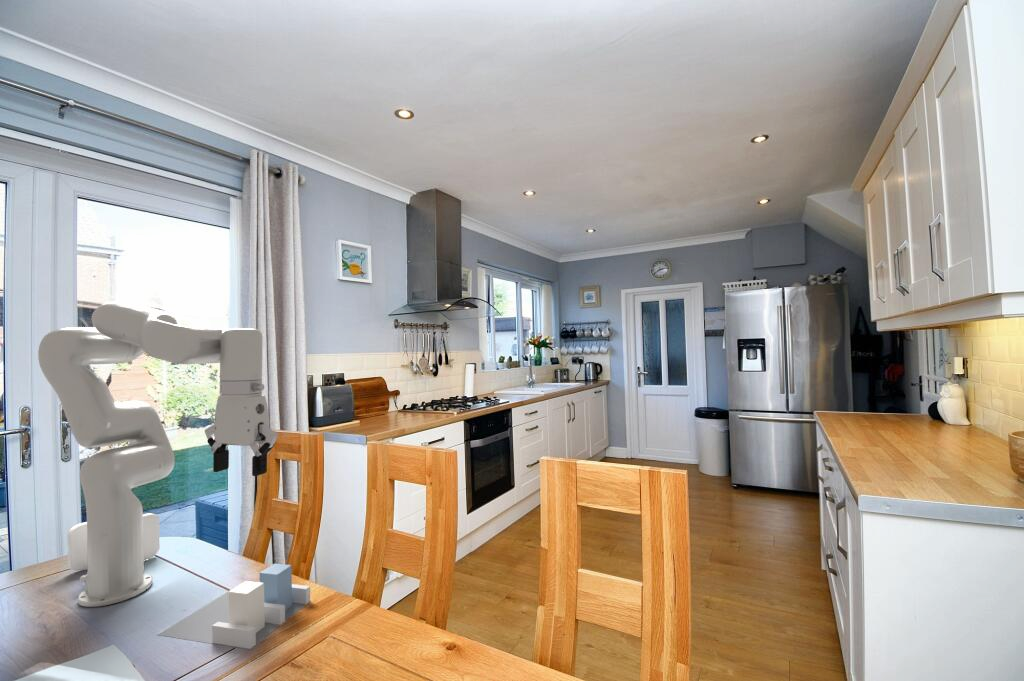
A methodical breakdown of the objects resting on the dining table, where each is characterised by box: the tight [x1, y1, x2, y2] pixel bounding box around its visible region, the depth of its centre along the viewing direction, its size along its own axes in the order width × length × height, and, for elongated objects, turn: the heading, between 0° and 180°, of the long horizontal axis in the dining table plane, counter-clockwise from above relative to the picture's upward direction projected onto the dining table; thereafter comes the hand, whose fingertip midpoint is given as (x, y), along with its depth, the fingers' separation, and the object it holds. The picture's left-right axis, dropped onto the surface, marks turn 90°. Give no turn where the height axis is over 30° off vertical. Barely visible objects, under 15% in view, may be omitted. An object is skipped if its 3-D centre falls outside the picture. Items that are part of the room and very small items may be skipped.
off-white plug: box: [228, 580, 265, 633], centre depth 87 cm, size 4×4×8 cm
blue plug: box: [259, 563, 293, 611], centre depth 94 cm, size 4×4×8 cm
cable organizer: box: [67, 512, 160, 571], centre depth 119 cm, size 15×11×12 cm
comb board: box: [157, 583, 312, 651], centre depth 91 cm, size 20×16×4 cm
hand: (240, 472), depth 97 cm, fingers open, 9 cm apart
